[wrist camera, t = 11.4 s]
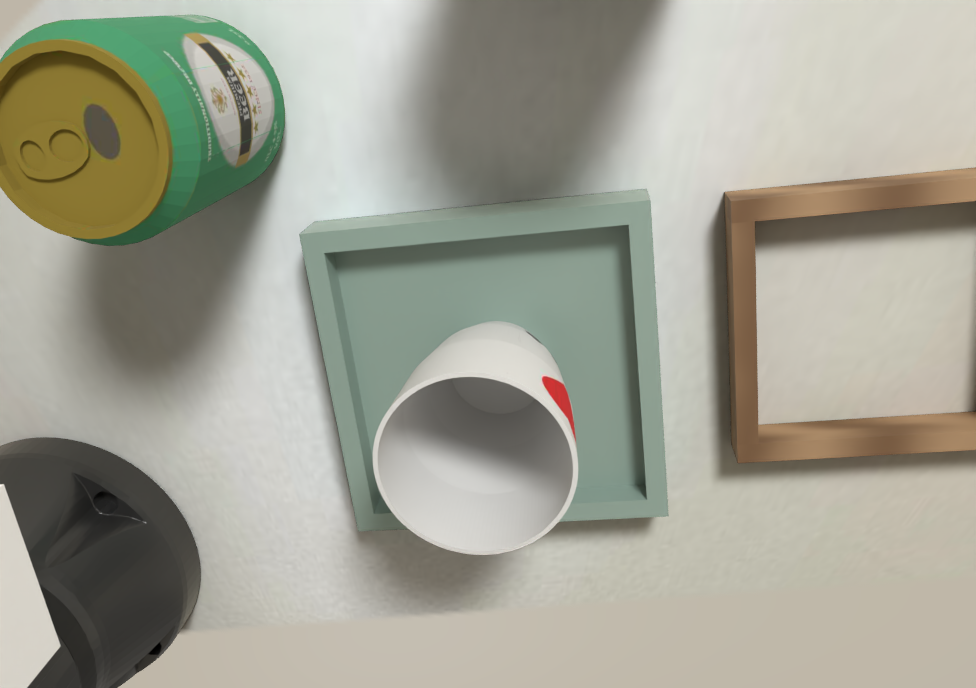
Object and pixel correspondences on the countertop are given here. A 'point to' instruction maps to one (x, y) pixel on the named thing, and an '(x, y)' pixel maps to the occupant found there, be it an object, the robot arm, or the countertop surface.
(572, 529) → the countertop surface
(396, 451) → the cup
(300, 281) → the countertop surface
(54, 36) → the beverage can
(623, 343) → the tray
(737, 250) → the frame
